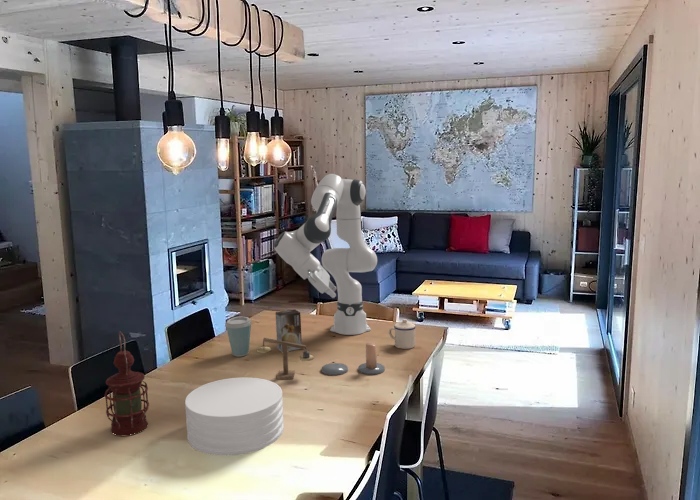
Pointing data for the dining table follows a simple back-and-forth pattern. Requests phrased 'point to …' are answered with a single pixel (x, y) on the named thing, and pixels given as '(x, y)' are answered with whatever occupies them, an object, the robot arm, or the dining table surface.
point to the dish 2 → (365, 370)
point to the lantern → (126, 396)
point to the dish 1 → (334, 369)
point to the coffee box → (288, 328)
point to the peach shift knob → (371, 355)
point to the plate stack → (234, 416)
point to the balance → (286, 356)
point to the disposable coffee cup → (239, 335)
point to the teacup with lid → (404, 334)
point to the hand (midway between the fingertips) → (335, 293)
